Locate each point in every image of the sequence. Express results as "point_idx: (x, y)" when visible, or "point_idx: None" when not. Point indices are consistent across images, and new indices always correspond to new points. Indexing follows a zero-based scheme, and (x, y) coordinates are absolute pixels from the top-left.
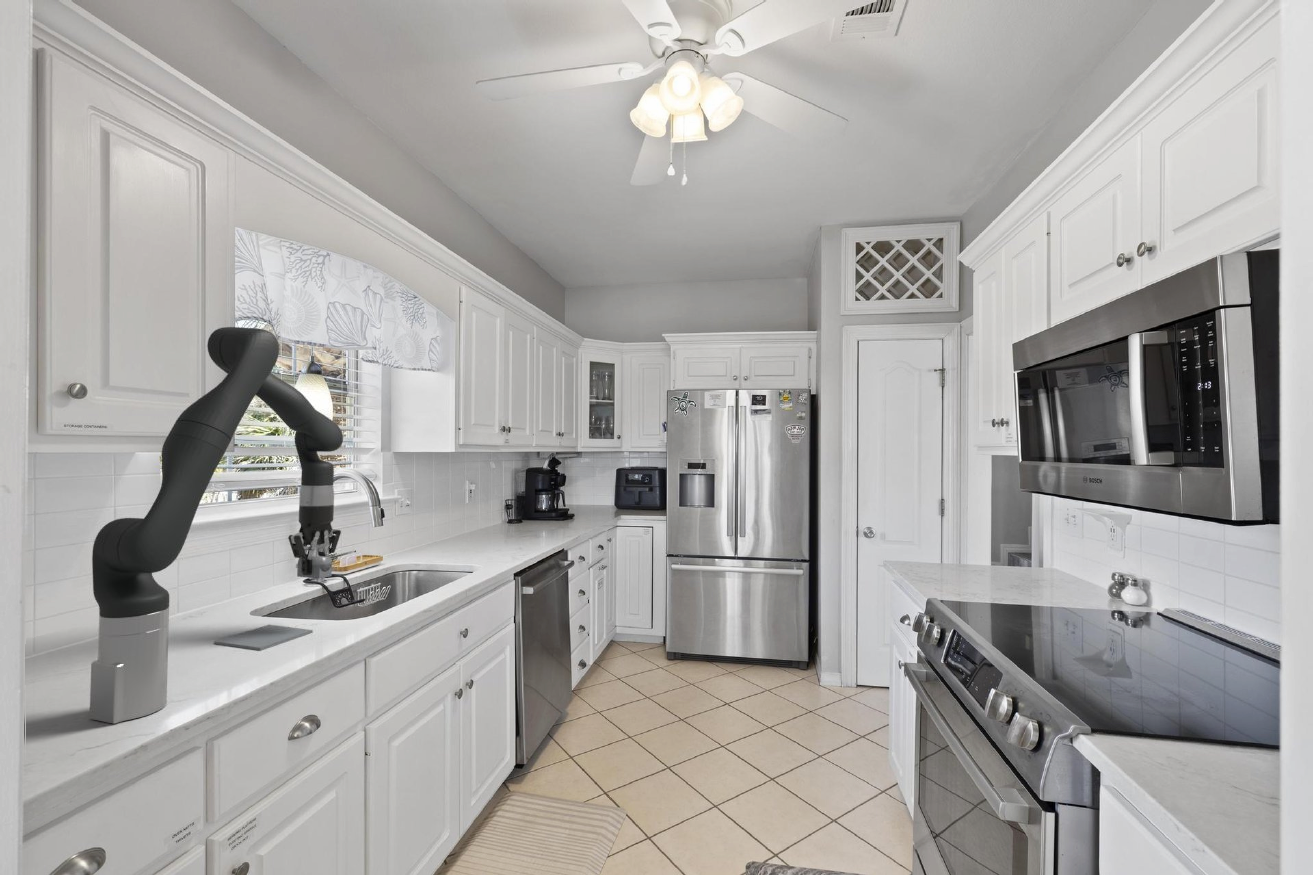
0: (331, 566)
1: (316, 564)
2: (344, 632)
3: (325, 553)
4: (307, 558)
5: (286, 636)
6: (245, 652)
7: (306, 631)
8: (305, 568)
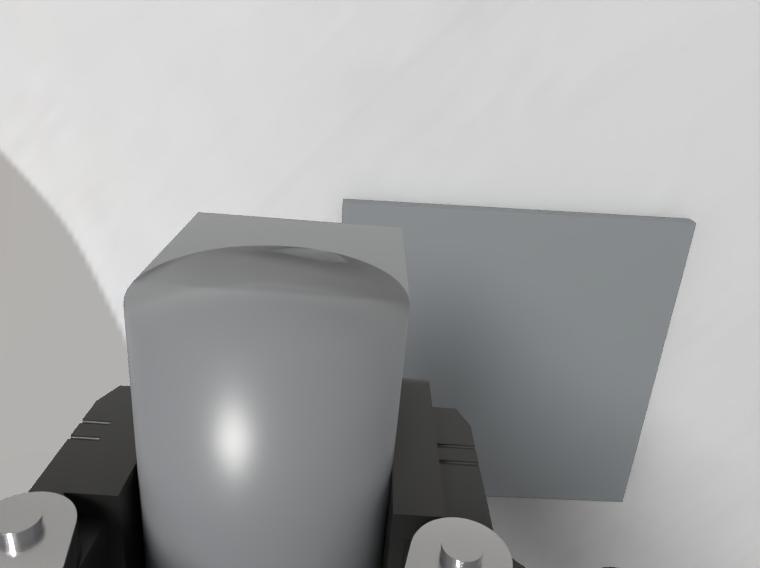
0: (158, 261)
1: (400, 378)
2: (260, 12)
3: (60, 547)
4: (504, 554)
5: (488, 250)
6: (705, 277)
7: (377, 216)
8: (476, 456)
